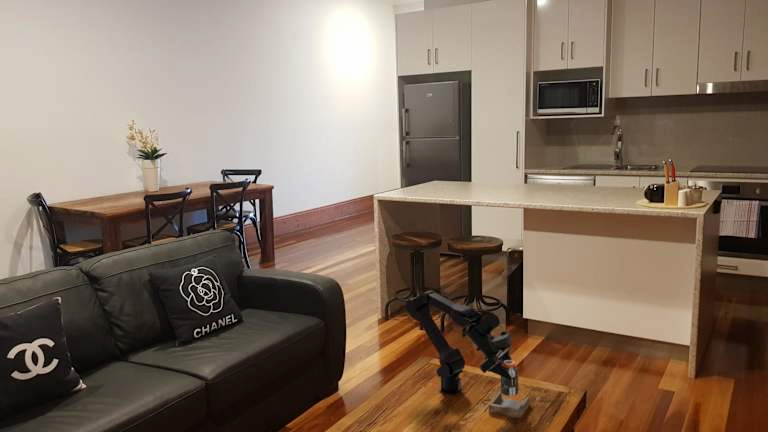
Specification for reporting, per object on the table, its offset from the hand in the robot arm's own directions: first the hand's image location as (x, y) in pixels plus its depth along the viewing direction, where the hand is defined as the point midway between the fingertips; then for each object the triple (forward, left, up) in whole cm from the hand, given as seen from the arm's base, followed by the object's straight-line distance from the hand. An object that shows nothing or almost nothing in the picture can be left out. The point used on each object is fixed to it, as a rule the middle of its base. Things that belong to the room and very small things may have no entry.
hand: (513, 375), depth 203 cm
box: (-1, -1, -12) cm, 12 cm away
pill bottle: (-1, 0, -7) cm, 7 cm away
